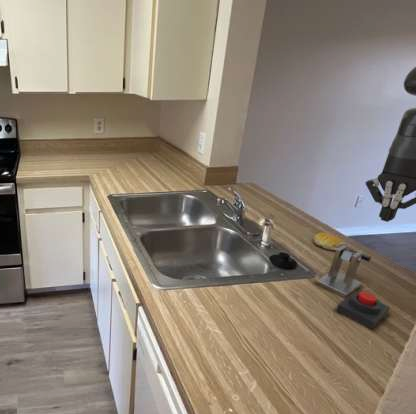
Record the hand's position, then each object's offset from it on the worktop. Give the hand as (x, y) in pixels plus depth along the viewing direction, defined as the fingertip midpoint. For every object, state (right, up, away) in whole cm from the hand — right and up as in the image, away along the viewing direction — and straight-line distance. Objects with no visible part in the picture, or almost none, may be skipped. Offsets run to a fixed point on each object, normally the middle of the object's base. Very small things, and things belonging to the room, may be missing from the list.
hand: (385, 220), depth 85 cm
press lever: (+1, -12, +13) cm, 18 cm away
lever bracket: (-2, -20, +14) cm, 24 cm away
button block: (-4, -25, +3) cm, 25 cm away
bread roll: (+10, -11, +35) cm, 38 cm away
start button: (-4, -21, +1) cm, 22 cm away
